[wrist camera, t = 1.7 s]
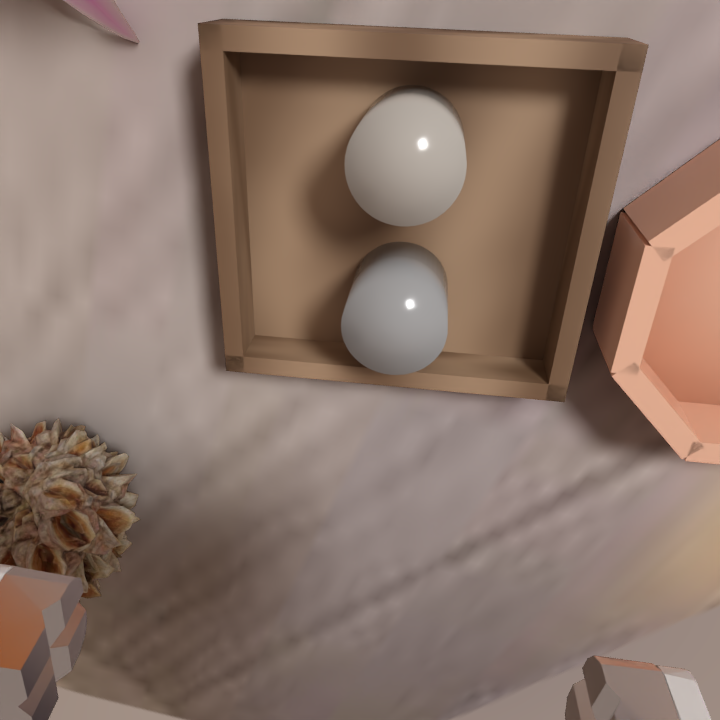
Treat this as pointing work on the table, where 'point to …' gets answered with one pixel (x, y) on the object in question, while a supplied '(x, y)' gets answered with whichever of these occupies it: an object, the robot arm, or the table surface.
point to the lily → (105, 16)
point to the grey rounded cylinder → (397, 309)
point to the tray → (440, 236)
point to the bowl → (669, 307)
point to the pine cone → (64, 504)
